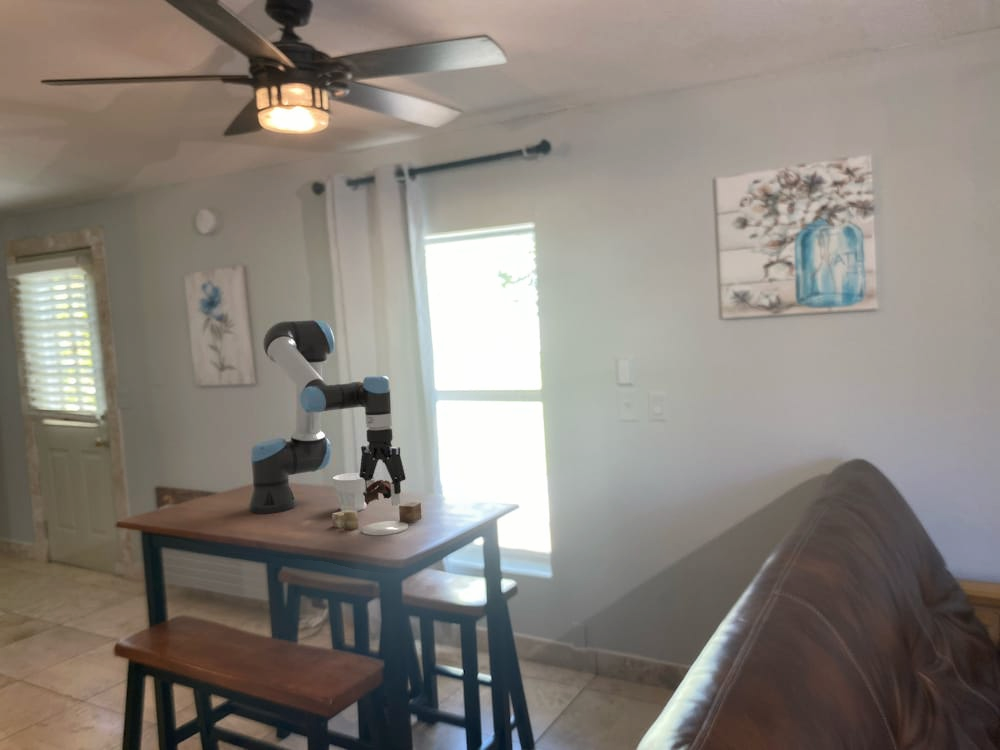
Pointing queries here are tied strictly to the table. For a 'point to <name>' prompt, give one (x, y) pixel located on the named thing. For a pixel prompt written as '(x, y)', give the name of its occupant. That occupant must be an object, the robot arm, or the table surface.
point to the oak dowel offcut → (351, 520)
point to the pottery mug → (377, 490)
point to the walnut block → (410, 512)
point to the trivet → (384, 528)
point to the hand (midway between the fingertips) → (383, 502)
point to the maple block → (339, 519)
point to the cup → (350, 491)
